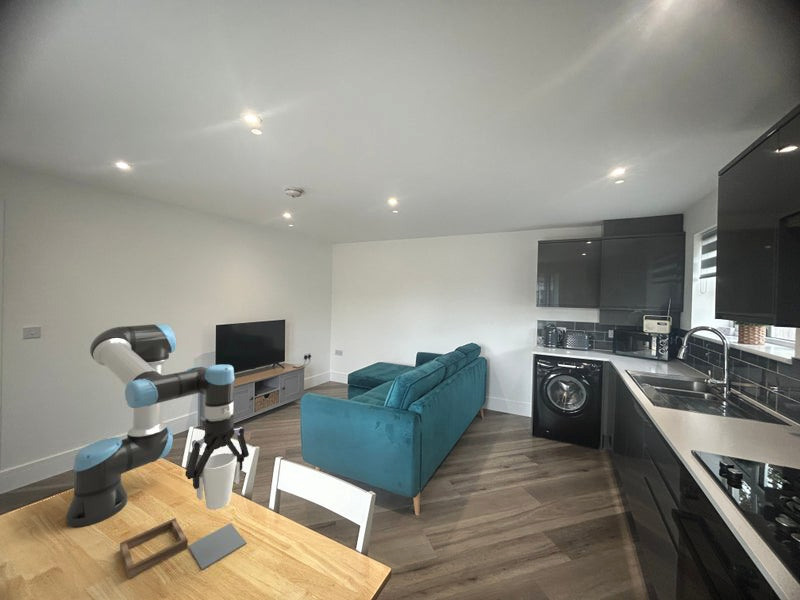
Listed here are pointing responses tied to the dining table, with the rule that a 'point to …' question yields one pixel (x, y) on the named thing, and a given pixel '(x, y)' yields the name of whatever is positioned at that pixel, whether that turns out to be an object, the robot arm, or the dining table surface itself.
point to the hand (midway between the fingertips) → (218, 489)
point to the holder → (157, 557)
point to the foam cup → (219, 479)
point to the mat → (216, 546)
